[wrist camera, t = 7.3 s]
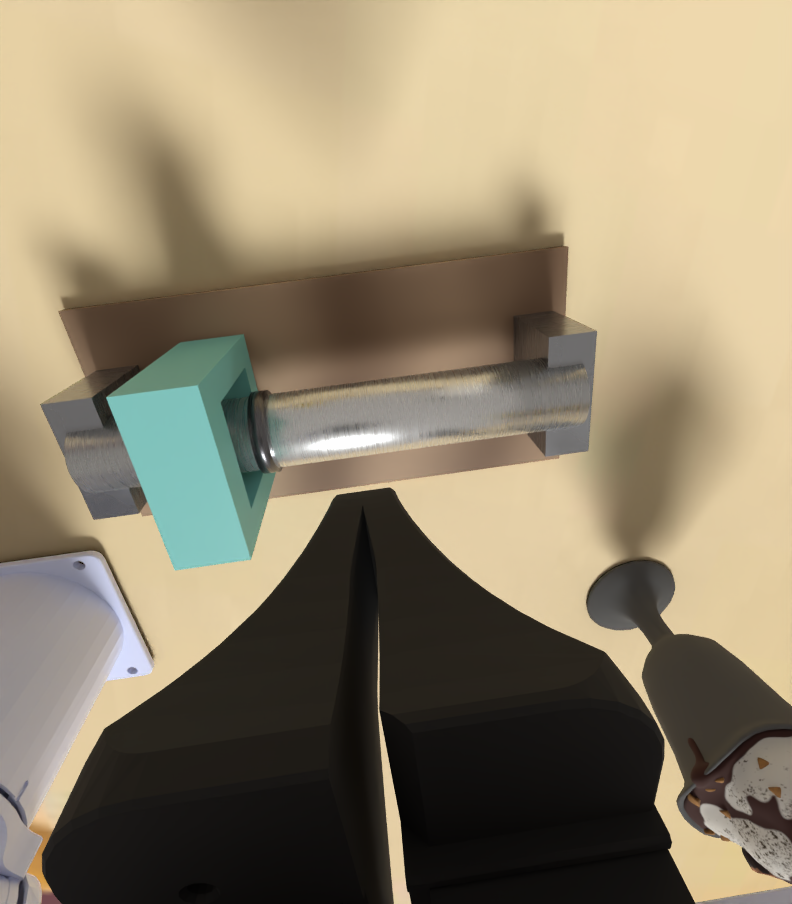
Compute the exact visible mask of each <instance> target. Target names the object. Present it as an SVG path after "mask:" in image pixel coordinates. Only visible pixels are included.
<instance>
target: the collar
mask: <svg viewBox="0 0 792 904" xmlns="http://www.w3.org/2000/svg"><path fill="white" fill-rule="evenodd" d="M254 391H258V390H257V386H256V382H255V378H254V374H253V370H252V366H251V362H250V358H249V353H248V349H247V345H246V341H245V337H244V334H241V335H233V336H225V337H218V338H210V339H202V340H194V341H187V342H180V343H178V344H177V345H176V346H174V347H173V348H172V349H170V350H169V351H168V352H166V353H165V354H164V355H162V356H161V357H160V358H158V359H157V360H156V361H154V362H153V363H152V364H150V365H149V366H148V367H146V368H145V369H144V370H142V371H141V372H140V373H138V374H137V375H135V376H134V377H133V378H131V379H130V380H129V381H127V382H126V383H125V384H123V385H122V386H121V387H119V388H118V389H117V390H115V391H114V392H113V393H111V394H110V395H109V396H107V397H106V399H107V401H108V404H109V406H110V409H111V411H112V414H113V416H114V419H115V421H116V424H117V426H118V429H119V431H120V434H121V436H122V439H123V441H124V444H125V446H126V449H127V451H128V454H129V456H130V459H131V461H132V464H133V466H134V469H135V471H136V474H137V476H138V479H139V481H140V484H141V487H142V489H143V492H144V494H145V497H146V499H147V502H148V504H149V507H150V509H151V512H152V514H153V517H154V519H155V522H156V524H157V527H158V529H159V532H160V534H161V537H162V539H163V542H164V544H165V547H166V549H167V552H168V554H169V557H170V559H171V562H172V564H173V567H174V569H175V570H181V569H188V568H195V567H202V566H209V565H216V564H223V563H230V562H237V561H244V560H251V558H252V554H253V551H254V547H255V544H256V540H257V537H258V533H259V530H260V526H261V523H262V519H263V516H264V512H265V509H266V505H267V502H268V498H269V495H270V491H271V488H272V485H273V481H274V478H275V474H276V472H274V473H267V474H264V473H263V472H262V471H261V470H258V471H250V472H243V473H241V472H240V468H239V465H238V461H237V458H236V454H235V451H234V447H233V444H232V440H231V437H230V433H229V430H228V426H227V423H226V420H225V416H224V413H223V409H222V406H221V401H222V400H227V399H235V398H242V397H249V395H250V393H251V392H254Z"/></svg>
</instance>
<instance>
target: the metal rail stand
mask: <svg viewBox="0 0 792 904" xmlns="http://www.w3.org/2000/svg"><path fill="white" fill-rule="evenodd" d="M596 337H597V331H596V330H594V329H592V328H589V327H587V326H585V325H583V324H581V323H579V322H576V321H574V320H572V319H570V318H568V317H566V316H564V315H561V314H559V313H557V312H555V311H547V312H539V313H532V314H524V315H517V316H514V361H512V362H505V363H497V364H490V365H482V366H475V367H467V368H460V369H452V370H445V371H437V372H430V373H422V374H415V375H407V376H400V377H392V378H385V379H377V380H370V381H362V382H355V383H347V384H340V385H332V386H325V387H317V388H310V389H302V390H295V391H287V392H280V393H271V392H270V391H269V390H262V391H254V392H251V393H250V395H249V397H242V398H235V399H227V400H222V401H221V406H222V409H223V413H224V416H225V420H226V423H227V426H228V430H229V433H230V437H231V440H232V444H233V447H234V451H235V454H236V458H237V461H238V465H239V468H240V472H241V473H243V472H250V471H258V470H261V471H262V472H263V473H264V474H267V473H274V472H281V471H282V468H283V467H287V466H294V465H301V464H308V463H316V462H323V461H330V460H337V459H345V458H352V457H359V456H367V455H374V454H381V453H388V452H396V451H403V450H410V449H417V448H425V447H432V446H439V445H446V444H454V443H461V442H468V441H475V440H483V439H490V438H497V437H505V436H512V435H519V434H527V435H528V436H529V437H530V439H531V440H532V441H533V442H534V444H535V445H536V446H537V447H538V448H539V450H540V451H541V452H542V453H543V455H544V456H545V457H548V456H555V455H562V454H569V453H576V452H584V451H588V446H589V432H590V419H591V405H592V391H593V378H594V364H595V350H596ZM138 373H140V369H139V366H138V365H134V366H126V367H118V368H111V369H103V370H96V371H95V372H93V373H91V374H90V375H88V376H86V377H85V378H83V379H81V380H80V381H78V382H76V383H75V384H73V385H72V386H70V387H68V388H67V389H65V390H63V391H62V392H60V393H58V394H57V395H55V396H53V397H52V398H50V399H49V400H47V401H45V402H44V403H42V404H40V405H41V407H42V409H43V412H44V414H45V416H46V418H47V420H48V422H49V424H50V427H51V429H52V431H53V433H54V435H55V437H56V439H57V442H58V444H59V446H60V448H61V450H62V452H63V455H64V457H65V460H66V465H67V468H68V470H69V473H70V475H71V477H72V479H73V480H74V482H75V483H76V484H77V485H78V487H79V489H80V491H81V493H82V495H83V498H84V500H85V502H86V504H87V506H88V508H89V510H90V513H91V515H92V517H93V519H94V520H95V519H103V518H110V517H117V516H124V515H131V514H138V513H140V511H141V510H142V508H143V507H144V506H145V504H146V503H147V499H146V497H145V494H144V492H143V489H142V487H141V484H140V481H139V479H138V476H137V474H136V471H135V469H134V466H133V464H132V461H131V459H130V456H129V454H128V451H127V449H126V446H125V444H124V441H123V439H122V436H121V434H120V431H119V429H118V426H117V424H116V421H115V419H114V416H113V414H112V411H111V409H110V406H109V404H108V401H107V399H106V397H107V396H109V395H110V394H111V393H113V392H114V391H115V390H117V389H118V388H119V387H121V386H122V385H123V384H125V383H126V382H127V381H129V380H130V379H131V378H133V377H134V376H135V375H137V374H138Z"/></svg>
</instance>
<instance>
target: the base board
mask: <svg viewBox="0 0 792 904" xmlns="http://www.w3.org/2000/svg"><path fill="white" fill-rule="evenodd" d="M567 265H568V247H566V246H561V247H554V248H546V249H538V250H530V251H522V252H514V253H506V254H498V255H491V256H483V257H475V258H467V259H459V260H451V261H443V262H435V263H427V264H420V265H412V266H404V267H396V268H388V269H380V270H372V271H364V272H356V273H349V274H341V275H333V276H325V277H317V278H309V279H301V280H293V281H286V282H278V283H270V284H262V285H254V286H246V287H238V288H230V289H222V290H215V291H207V292H199V293H191V294H183V295H175V296H167V297H159V298H151V299H144V300H136V301H128V302H120V303H112V304H104V305H96V306H88V307H81V308H73V309H65V310H61V311H58V312H59V314H60V316H61V319H62V321H63V324H64V326H65V329H66V331H67V333H68V336H69V338H70V341H71V343H72V346H73V348H74V351H75V353H76V355H77V358H78V360H79V363H80V365H81V368H82V370H83V372H84V375H85V377H86V376H88V375H90V374H91V373H93V372H95V371H96V370H103V369H111V368H118V367H126V366H134V365H138V366H139V369H140V372H141V371H142V370H144V369H145V368H146V367H148V366H149V365H150V364H152V363H153V362H154V361H156V360H157V359H158V358H160V357H161V356H162V355H164V354H165V353H166V352H168V351H169V350H170V349H172V348H173V347H174V346H176V345H177V344H178V343H180V342H187V341H194V340H202V339H210V338H218V337H225V336H233V335H241V334H244V337H245V341H246V345H247V349H248V353H249V358H250V362H251V366H252V370H253V374H254V378H255V382H256V386H257V390H258V391H262V390H269V391H270V392H271V393H280V392H287V391H295V390H302V389H310V388H317V387H325V386H332V385H340V384H347V383H355V382H362V381H370V380H377V379H385V378H392V377H400V376H407V375H415V374H422V373H430V372H437V371H445V370H452V369H460V368H467V367H475V366H482V365H490V364H497V363H505V362H512V361H514V316H517V315H524V314H532V313H539V312H547V311H555V312H557V313H559V314H561V315H564V316H565V311H566V288H567ZM557 458H559V455H555V456H548V457H545V456H544V455H543V453H542V452H541V451H540V450H539V448H538V447H537V446H536V445H535V444H534V442H533V441H532V440H531V439H530V437H529V436H528V435H527V434H519V435H512V436H505V437H497V438H490V439H483V440H475V441H468V442H461V443H454V444H446V445H439V446H432V447H425V448H417V449H410V450H403V451H396V452H388V453H381V454H374V455H367V456H359V457H352V458H345V459H337V460H330V461H323V462H316V463H308V464H301V465H294V466H287V467H283V468H282V471H281V472H276V474H275V478H274V481H273V485H272V488H271V491H270V495H269V498H268V499H270V498H277V497H284V496H292V495H299V494H306V493H313V492H320V491H327V490H335V489H342V488H349V487H356V486H363V485H370V484H378V483H385V482H392V481H399V480H406V479H413V478H421V477H428V476H435V475H442V474H449V473H457V472H464V471H471V470H478V469H485V468H492V467H500V466H507V465H514V464H521V463H528V462H535V461H543V460H550V459H557ZM141 514H142V516H148V515H153V514H152V512H151V509H150V507H149V504H148V502H147V503H146V504H145V506H144V507H143V508H142V510H141Z"/></svg>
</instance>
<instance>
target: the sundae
mask: <svg viewBox="0 0 792 904" xmlns="http://www.w3.org/2000/svg"><path fill="white" fill-rule="evenodd" d="M674 591H675V582H674V579H673V575H672V574H671V572H670V571H669V570H668V569H667V568H666V567H665V566H663V565H661V564H659V563H656V562H652V561H634V562H629V563H625V564H622V565H620V566H617V567H615V568H613V569H612V570H610V571H609V572H607V573H606V574H605V575H603V576H602V577H601V578H600V579H599V580H598V581H597V582H596V584H595V585H594V586H593V588H592V590H591V591H590V594H589V597H588V601H587V609H588V613H589V616H590V618H591V619H592V620H593V621H594V622H595V623H597V624H598V625H599V626H602V627H605V628H608V629H613V630H630V629H634V628H637V627H638V628H639V629H640V630H641V631H642V632H643V633H644V635H645V636H646V638H647V639H648V641H649V642H650V644H651V645H652V650H651V651H650V652H649V654H648V656H647V658H646V660H645V664H644V668H643V672H642V679H643V683H644V686H645V689H646V692H647V694H648V697H649V700H650V702H651V705H652V708H653V710H654V712H655V714H656V717H657V719H658V721H659V723H660V725H661V727H662V729H663V731H664V733H665V735H666V738H667V740H668V742H669V744H670V746H671V748H672V750H673V752H674V754H675V757H676V760H677V762H678V765H679V768H680V770H681V773H682V776H683V778H684V788H683V789H682V791H681V793H680V794H679V796H678V798H677V800H676V801H677V805H678V808H679V811H680V812H681V814H682V816H683V817H684V819H685V820H686V821H687V822H688V823H689V824H690V825H692V826H693V827H694V828H695V829H697V830H698V831H700V832H701V833H703V834H705V835H708V836H712V837H716V838H721V840H723V841H732V842H734V843H736V844H738V845H740V846H741V847H742V852H743V854H744V856H745V858H746V860H747V862H748V864H749V865H750V867H751V869H752V870H754V871H755V872H757V873H761V874H765V875H769V876H772V877H775V878H778V879H781V880H784V881H786V882H788V883H790V884H792V706H791V705H790V704H789V703H787V702H786V701H785V700H784V699H783V698H782V697H780V696H779V695H778V694H777V693H776V692H775V691H774V690H773V689H772V688H771V687H769V686H768V685H767V684H766V683H765V682H764V681H763V680H762V679H761V678H760V677H758V676H757V675H756V674H755V673H754V672H753V671H752V670H751V669H750V668H749V667H747V666H746V665H745V664H744V663H743V662H742V661H740V660H739V659H738V658H737V657H735V656H734V655H733V654H731V653H730V652H729V651H727V650H726V649H725V648H724V647H722V646H721V645H720V644H718V643H717V642H716V641H714V640H711V639H709V638H704V637H699V636H694V635H689V634H677V635H674V634H673V633H672V631H671V630H670V629H669V628H668V626H667V625H666V624H665V623H664V621H663V619H662V618H661V616H660V614H661V613H662V612H663V610H664V609H665V608H666V607H667V606H668V604H669V603H670V602H671V599H672V597H673V595H674Z"/></svg>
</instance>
